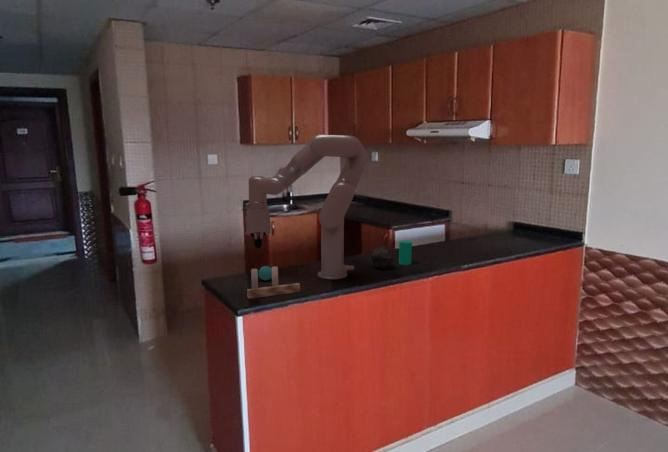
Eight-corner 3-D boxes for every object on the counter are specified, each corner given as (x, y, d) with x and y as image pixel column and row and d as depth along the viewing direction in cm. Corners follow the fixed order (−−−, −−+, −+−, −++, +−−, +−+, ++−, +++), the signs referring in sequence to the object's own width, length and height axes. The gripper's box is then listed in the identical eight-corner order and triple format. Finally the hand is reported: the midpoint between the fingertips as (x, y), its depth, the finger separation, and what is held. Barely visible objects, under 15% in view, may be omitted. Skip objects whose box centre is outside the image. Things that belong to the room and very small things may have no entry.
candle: (410, 261, 224) (410, 237, 222) (412, 264, 218) (413, 239, 216) (397, 261, 224) (398, 237, 222) (399, 264, 218) (400, 239, 216)
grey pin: (257, 290, 179) (256, 268, 178) (258, 292, 177) (258, 269, 176) (251, 291, 178) (250, 269, 177) (252, 293, 176) (251, 270, 175)
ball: (271, 277, 197) (270, 263, 196) (274, 281, 192) (274, 267, 191) (257, 279, 195) (256, 265, 194) (260, 282, 190) (260, 268, 189)
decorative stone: (368, 265, 216) (368, 244, 214) (388, 264, 219) (388, 243, 217) (375, 271, 207) (375, 249, 205) (396, 269, 209) (396, 248, 207)
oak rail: (298, 290, 180) (298, 282, 179) (300, 291, 178) (300, 284, 178) (247, 297, 172) (247, 289, 172) (248, 298, 170) (248, 290, 170)
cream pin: (277, 288, 182) (276, 266, 181) (279, 290, 180) (278, 267, 179) (271, 289, 182) (270, 266, 180) (273, 290, 179) (272, 268, 178)
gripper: (242, 207, 191) (242, 250, 194) (277, 206, 197) (277, 248, 200) (238, 204, 197) (238, 247, 201) (272, 203, 203) (272, 244, 207)
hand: (257, 247), depth 200 cm, fingers closed
